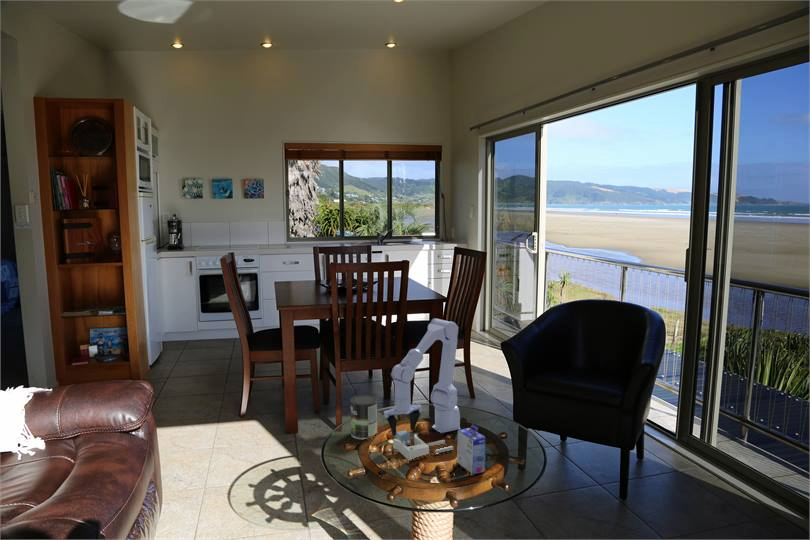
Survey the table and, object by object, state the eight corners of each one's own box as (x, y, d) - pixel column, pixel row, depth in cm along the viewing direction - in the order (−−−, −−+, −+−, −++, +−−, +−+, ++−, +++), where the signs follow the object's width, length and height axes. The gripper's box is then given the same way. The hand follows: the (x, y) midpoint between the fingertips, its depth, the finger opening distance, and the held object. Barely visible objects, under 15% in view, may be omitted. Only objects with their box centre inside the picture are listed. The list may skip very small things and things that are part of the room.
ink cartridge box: (486, 471, 192) (486, 430, 190) (472, 475, 190) (472, 434, 188) (469, 459, 201) (469, 420, 199) (456, 463, 198) (456, 423, 196)
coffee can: (355, 441, 216) (354, 406, 214) (347, 431, 226) (347, 397, 224) (381, 437, 220) (380, 402, 218) (372, 427, 230) (372, 393, 228)
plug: (406, 442, 215) (405, 430, 214) (411, 448, 211) (411, 435, 210) (396, 444, 213) (396, 432, 213) (401, 450, 209) (401, 437, 208)
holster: (443, 444, 213) (443, 439, 212) (453, 452, 207) (453, 446, 206) (427, 448, 210) (426, 443, 209) (436, 456, 203) (436, 450, 203)
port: (416, 444, 214) (416, 432, 213) (431, 456, 203) (431, 444, 203) (392, 449, 209) (392, 438, 209) (406, 462, 199) (406, 450, 199)
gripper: (389, 404, 203) (390, 440, 205) (425, 397, 210) (425, 432, 212) (381, 397, 210) (382, 433, 212) (416, 391, 216) (416, 425, 218)
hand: (403, 432), depth 212 cm, fingers open, 7 cm apart
